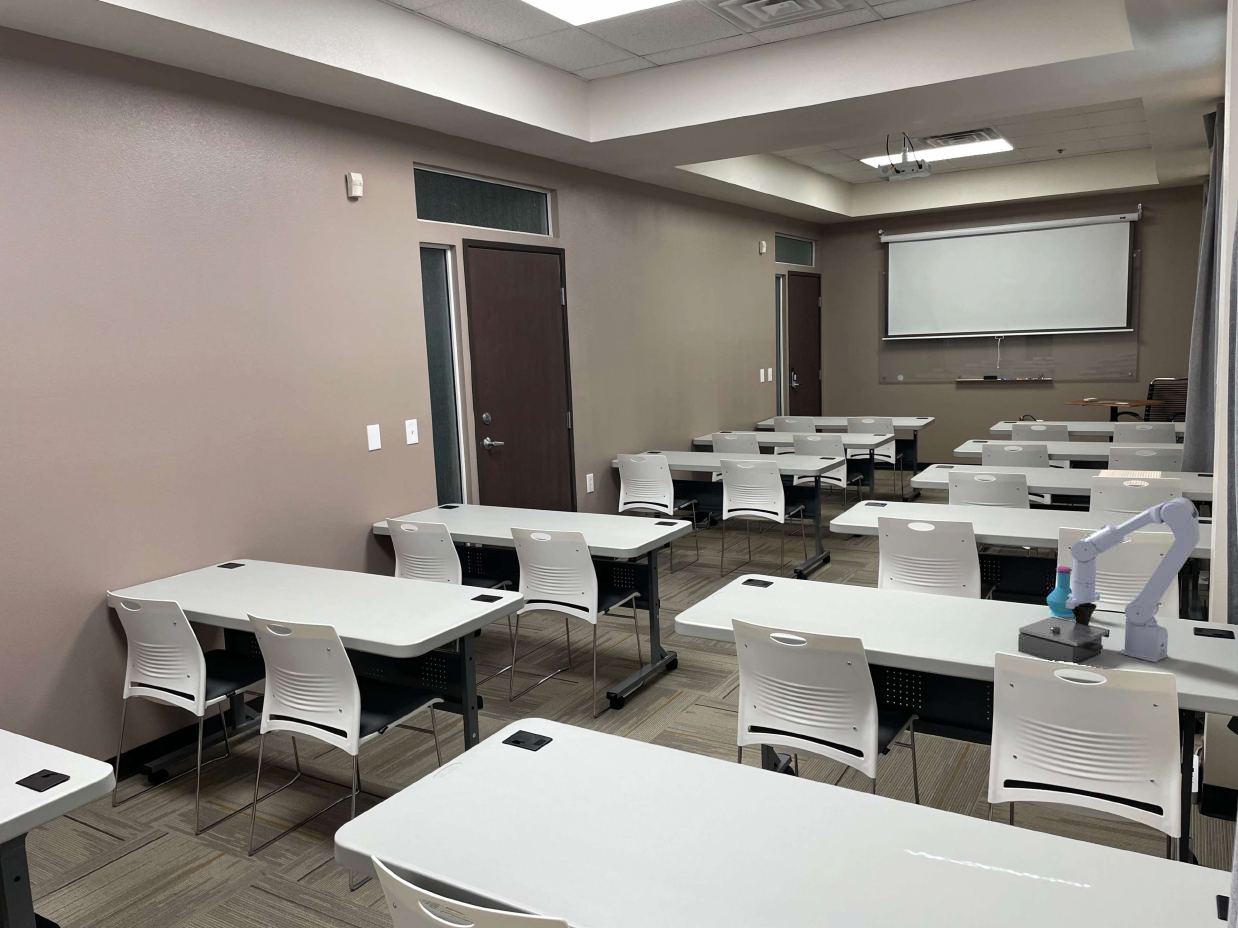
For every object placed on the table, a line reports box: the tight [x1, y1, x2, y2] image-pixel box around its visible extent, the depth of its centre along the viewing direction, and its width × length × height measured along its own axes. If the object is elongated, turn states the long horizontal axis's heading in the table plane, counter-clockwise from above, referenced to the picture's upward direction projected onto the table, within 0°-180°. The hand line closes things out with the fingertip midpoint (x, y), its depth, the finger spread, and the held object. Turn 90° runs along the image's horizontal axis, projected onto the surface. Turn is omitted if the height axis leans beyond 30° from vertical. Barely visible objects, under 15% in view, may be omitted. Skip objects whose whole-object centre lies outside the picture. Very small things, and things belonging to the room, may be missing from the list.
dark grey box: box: [1017, 631, 1104, 664], centre depth 236 cm, size 21×15×5 cm
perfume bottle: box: [1046, 565, 1074, 618], centre depth 270 cm, size 9×9×15 cm
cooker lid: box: [1018, 616, 1111, 646], centre depth 237 cm, size 16×17×3 cm
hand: (1082, 628), depth 242 cm, fingers closed
